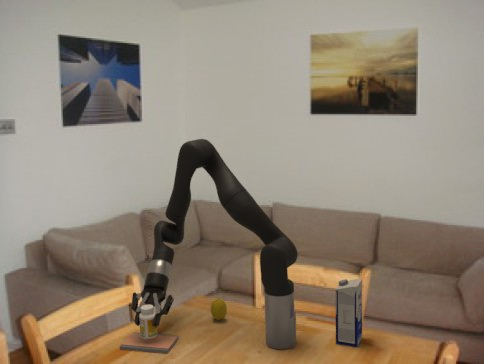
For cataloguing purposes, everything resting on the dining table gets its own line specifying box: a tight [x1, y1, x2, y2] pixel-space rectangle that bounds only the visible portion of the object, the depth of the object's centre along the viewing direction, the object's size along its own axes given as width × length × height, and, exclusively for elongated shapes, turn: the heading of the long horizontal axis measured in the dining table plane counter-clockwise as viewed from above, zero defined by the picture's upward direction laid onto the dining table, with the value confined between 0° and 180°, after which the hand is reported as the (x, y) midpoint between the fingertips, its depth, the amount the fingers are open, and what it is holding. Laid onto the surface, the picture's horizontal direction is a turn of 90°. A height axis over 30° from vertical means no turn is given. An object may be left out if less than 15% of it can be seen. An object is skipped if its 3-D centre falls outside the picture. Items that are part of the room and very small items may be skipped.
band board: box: [119, 332, 180, 354], centre depth 177 cm, size 16×10×1 cm, turn 76°
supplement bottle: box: [139, 305, 159, 339], centre depth 176 cm, size 5×5×10 cm
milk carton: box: [334, 278, 363, 348], centre depth 172 cm, size 7×7×20 cm
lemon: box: [210, 298, 228, 321], centre depth 192 cm, size 6×6×8 cm
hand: (146, 325), depth 174 cm, fingers closed on supplement bottle, 5 cm apart
